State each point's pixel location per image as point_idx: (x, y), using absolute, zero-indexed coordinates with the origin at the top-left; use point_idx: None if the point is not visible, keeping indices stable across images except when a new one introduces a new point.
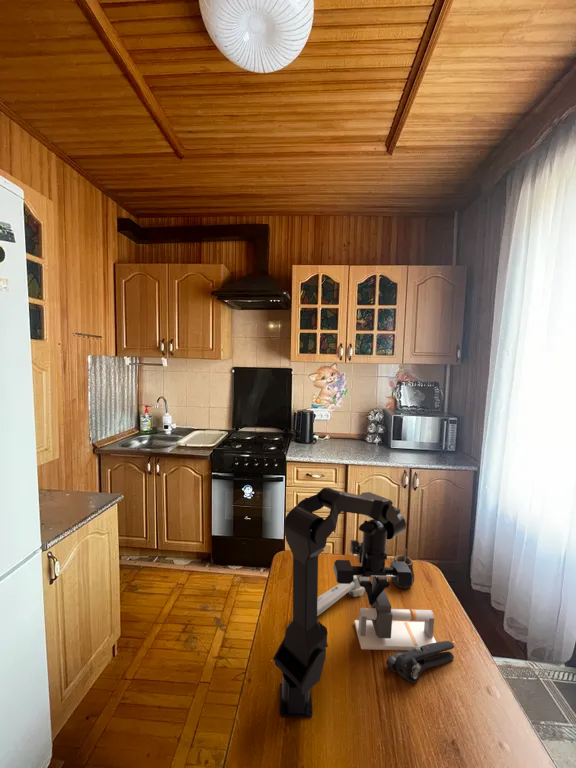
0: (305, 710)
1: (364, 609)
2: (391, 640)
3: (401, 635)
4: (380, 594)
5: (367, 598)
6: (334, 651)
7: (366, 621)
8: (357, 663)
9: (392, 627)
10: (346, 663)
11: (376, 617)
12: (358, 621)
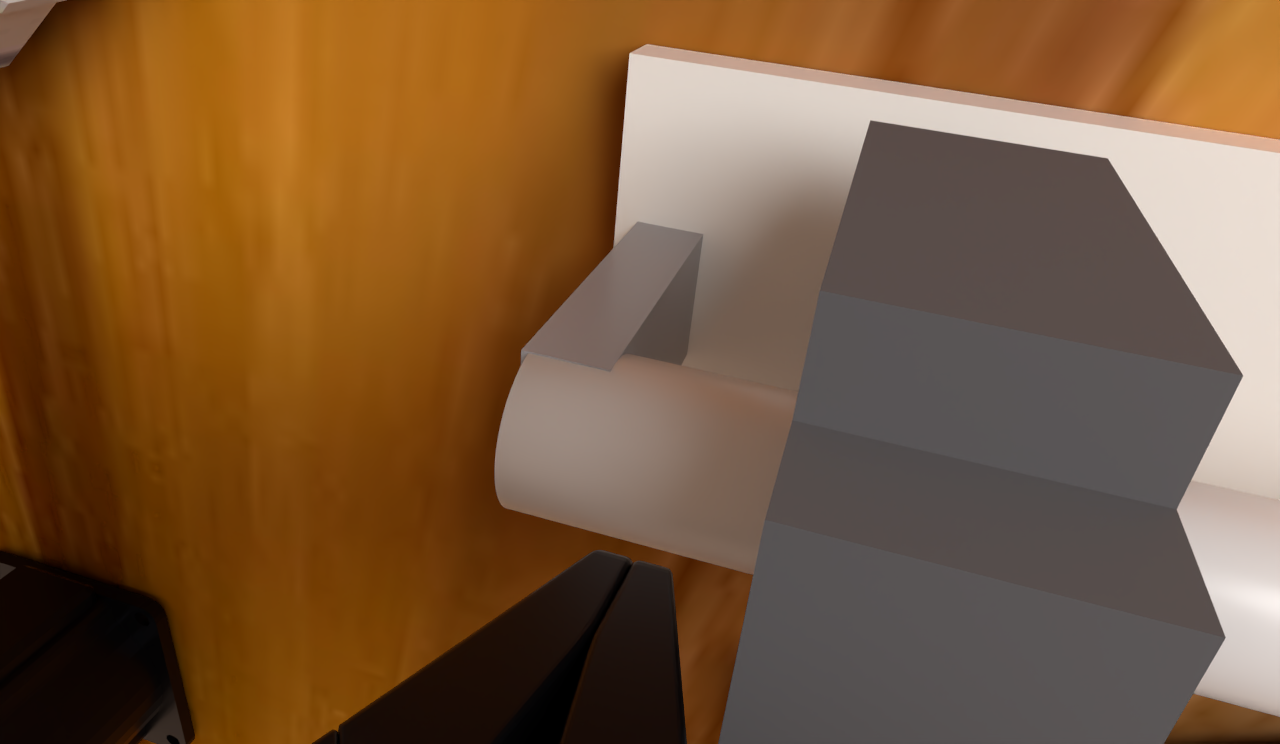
0: (148, 725)
1: (553, 487)
2: None
3: (1238, 451)
4: (918, 738)
5: (539, 595)
6: (341, 393)
7: (813, 105)
8: (529, 546)
9: (1203, 292)
10: (433, 522)
11: None
12: (678, 95)
